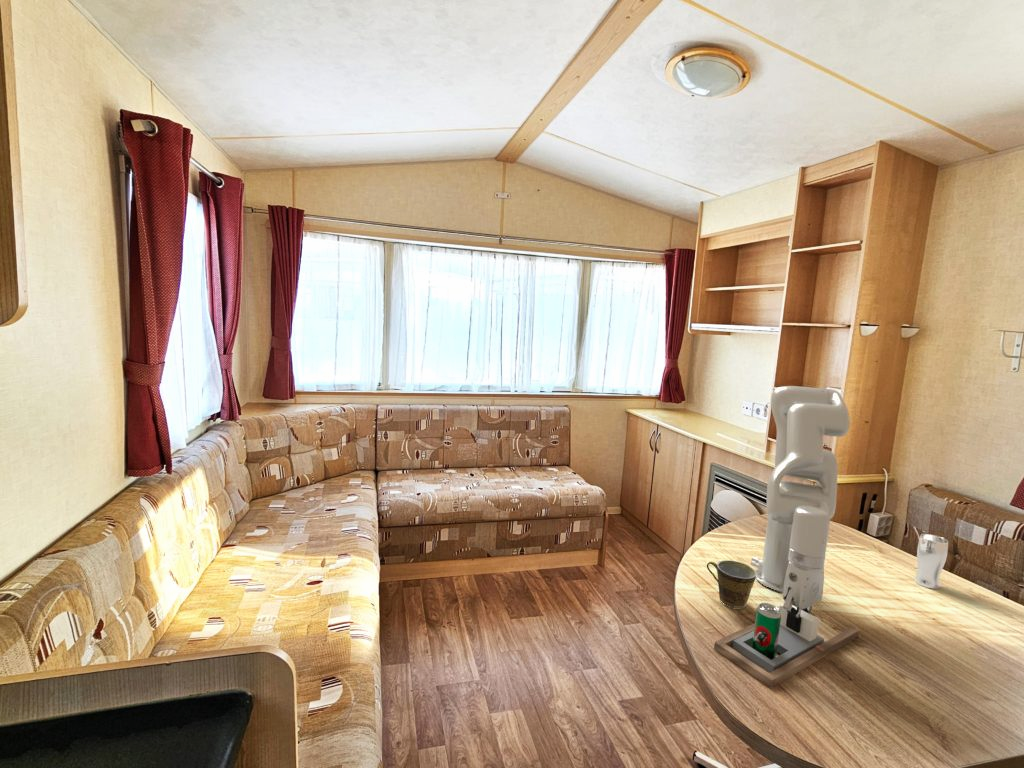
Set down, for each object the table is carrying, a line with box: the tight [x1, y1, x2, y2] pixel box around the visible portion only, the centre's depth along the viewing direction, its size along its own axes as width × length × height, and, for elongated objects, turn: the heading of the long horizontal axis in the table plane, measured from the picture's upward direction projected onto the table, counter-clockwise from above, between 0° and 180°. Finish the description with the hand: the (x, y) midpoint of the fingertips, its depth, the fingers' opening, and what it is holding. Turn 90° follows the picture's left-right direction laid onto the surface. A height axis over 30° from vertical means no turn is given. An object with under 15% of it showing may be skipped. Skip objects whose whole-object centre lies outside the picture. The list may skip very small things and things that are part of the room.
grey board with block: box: [732, 602, 825, 673], centre depth 118 cm, size 10×21×7 cm, turn 121°
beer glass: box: [913, 533, 949, 590], centre depth 151 cm, size 7×7×15 cm
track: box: [713, 605, 860, 688], centre depth 120 cm, size 14×38×2 cm, turn 121°
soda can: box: [751, 602, 781, 660], centre depth 114 cm, size 5×5×12 cm
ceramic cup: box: [706, 559, 756, 610], centre depth 137 cm, size 13×10×10 cm
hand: (797, 626), depth 122 cm, fingers closed on grey board with block, 3 cm apart
